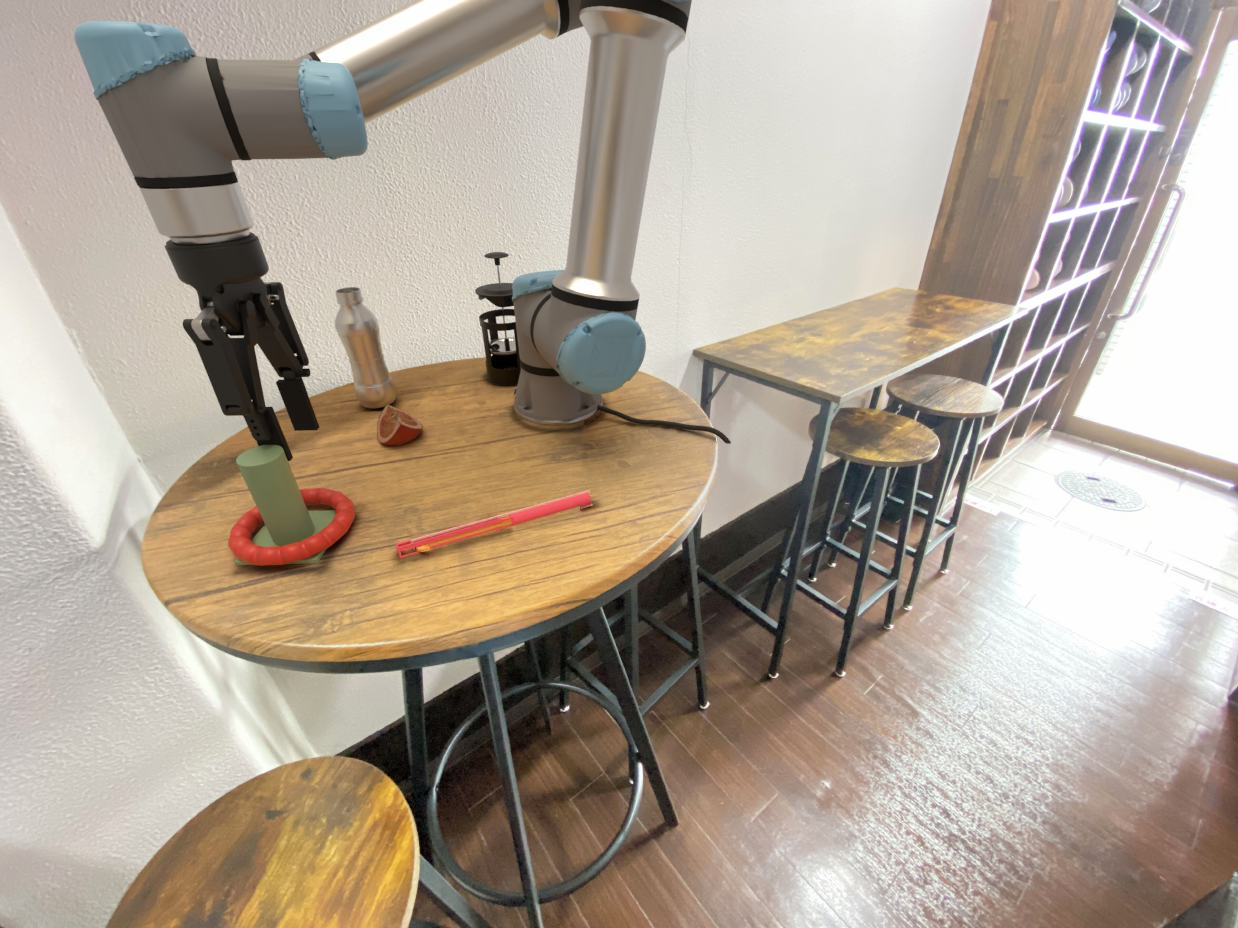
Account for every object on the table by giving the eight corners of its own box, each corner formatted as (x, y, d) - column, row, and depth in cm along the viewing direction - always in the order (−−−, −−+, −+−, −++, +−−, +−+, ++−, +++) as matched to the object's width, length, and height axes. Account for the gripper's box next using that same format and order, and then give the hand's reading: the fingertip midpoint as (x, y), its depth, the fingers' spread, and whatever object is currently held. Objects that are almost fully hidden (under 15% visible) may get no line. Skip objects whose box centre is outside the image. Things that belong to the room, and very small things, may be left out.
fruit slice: (374, 435, 85) (366, 407, 83) (416, 424, 88) (410, 397, 86) (386, 459, 79) (378, 429, 77) (431, 446, 82) (425, 417, 80)
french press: (501, 391, 99) (484, 262, 86) (474, 376, 105) (454, 253, 92) (551, 374, 106) (542, 251, 93) (523, 361, 111) (511, 244, 99)
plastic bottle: (407, 401, 95) (379, 288, 85) (374, 416, 91) (340, 298, 80) (384, 393, 98) (354, 282, 88) (351, 407, 94) (315, 292, 83)
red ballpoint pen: (398, 552, 63) (400, 567, 59) (394, 536, 63) (396, 550, 59) (584, 499, 72) (597, 509, 68) (582, 484, 72) (595, 493, 67)
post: (351, 519, 68) (321, 433, 61) (320, 569, 60) (281, 477, 53) (278, 520, 67) (240, 434, 60) (238, 571, 60) (189, 479, 53)
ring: (370, 495, 69) (366, 483, 68) (332, 565, 58) (327, 552, 57) (267, 500, 68) (261, 487, 67) (208, 572, 58) (200, 558, 56)
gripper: (228, 217, 58) (299, 406, 71) (88, 259, 42) (212, 492, 55) (298, 217, 58) (356, 405, 71) (185, 258, 42) (286, 491, 55)
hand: (293, 443), depth 63 cm, fingers open, 6 cm apart
